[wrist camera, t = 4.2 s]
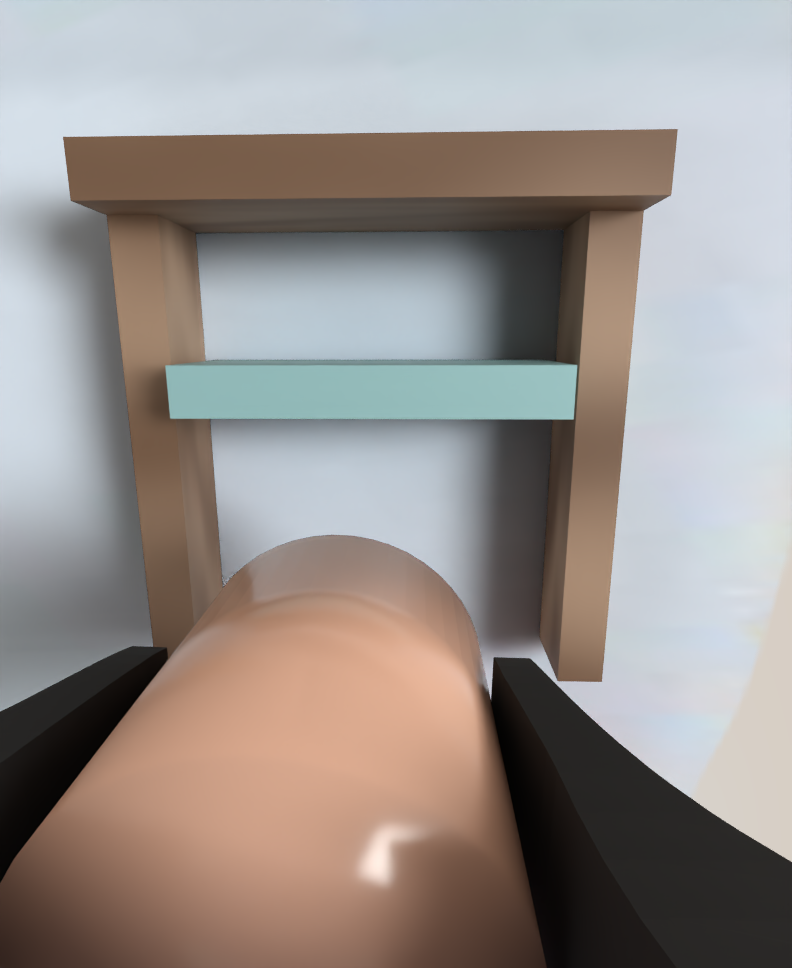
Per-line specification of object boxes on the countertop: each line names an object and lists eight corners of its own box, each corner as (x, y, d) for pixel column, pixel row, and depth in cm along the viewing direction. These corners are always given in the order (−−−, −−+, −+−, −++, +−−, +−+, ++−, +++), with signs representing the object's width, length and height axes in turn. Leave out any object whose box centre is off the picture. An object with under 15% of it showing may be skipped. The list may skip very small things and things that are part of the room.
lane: (577, 637, 19) (619, 715, 15) (189, 632, 19) (132, 706, 15) (612, 180, 16) (677, 129, 12) (147, 185, 16) (63, 137, 12)
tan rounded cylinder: (500, 551, 11) (597, 793, 5) (462, 803, 12) (504, 1222, 6) (203, 519, 11) (-35, 724, 5) (196, 773, 12) (-1, 1165, 6)
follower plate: (540, 402, 17) (573, 419, 13) (220, 402, 17) (170, 418, 14) (543, 359, 17) (577, 365, 13) (216, 359, 17) (165, 365, 13)
